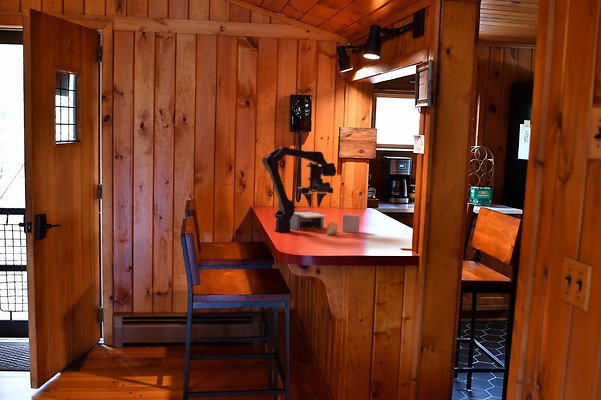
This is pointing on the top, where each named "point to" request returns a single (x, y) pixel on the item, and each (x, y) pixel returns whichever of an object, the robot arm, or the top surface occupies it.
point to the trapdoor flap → (308, 216)
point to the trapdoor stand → (314, 223)
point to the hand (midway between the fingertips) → (314, 207)
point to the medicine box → (350, 223)
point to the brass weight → (332, 228)
